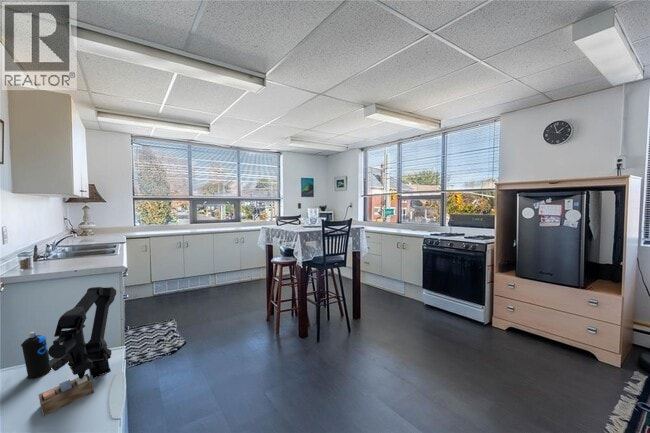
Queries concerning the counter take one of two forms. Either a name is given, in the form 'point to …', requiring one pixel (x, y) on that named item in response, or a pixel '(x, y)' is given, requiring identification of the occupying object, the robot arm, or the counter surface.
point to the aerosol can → (36, 356)
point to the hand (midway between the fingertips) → (81, 378)
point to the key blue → (65, 386)
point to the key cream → (81, 380)
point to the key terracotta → (48, 394)
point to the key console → (66, 396)
